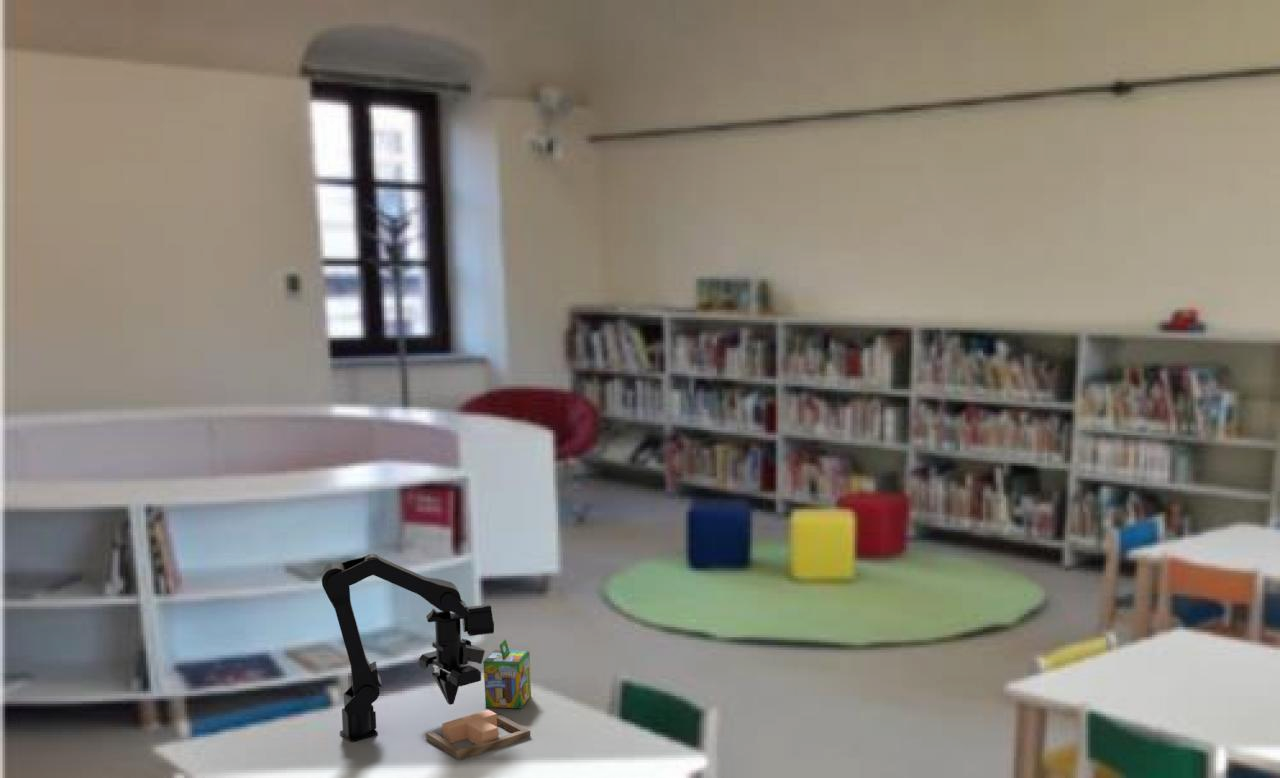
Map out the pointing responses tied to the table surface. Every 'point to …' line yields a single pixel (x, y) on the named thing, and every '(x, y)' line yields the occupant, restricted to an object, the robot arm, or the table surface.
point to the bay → (460, 754)
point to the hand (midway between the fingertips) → (450, 704)
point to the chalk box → (507, 678)
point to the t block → (472, 728)
